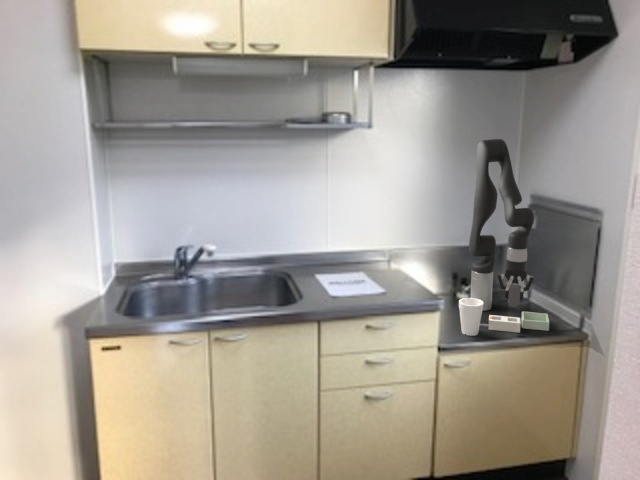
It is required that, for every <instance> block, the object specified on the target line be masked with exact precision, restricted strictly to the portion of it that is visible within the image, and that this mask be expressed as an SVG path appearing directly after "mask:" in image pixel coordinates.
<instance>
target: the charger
mask: <svg viewBox="0 0 640 480" xmlns="http://www.w3.org/2000/svg"><path fill="white" fill-rule="evenodd" d="M520 291H521V287H519V284H516V283H511V286H509V298H508V300H507V304H509V307H510V308H517V306H520V304H521V301H520Z"/></svg>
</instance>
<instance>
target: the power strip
mask: <svg viewBox="0 0 640 480" xmlns="http://www.w3.org/2000/svg"><path fill="white" fill-rule="evenodd" d="M521 325H522V322H521V317H517V316H506V315H504V316H503V315H496V314H495V315H494V314H493V315H492V314H489V316H488V324H487V323H486V324H485V323H480V326H479V327H483V328H487V329H488V330H490V331H498V332H500V331H501V332H508V333H517V334H519V333H521Z"/></svg>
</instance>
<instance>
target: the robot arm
mask: <svg viewBox="0 0 640 480" xmlns="http://www.w3.org/2000/svg"><path fill="white" fill-rule="evenodd" d="M497 162H498V164H499V166H500V175H499V179H498V184H497V187H498V190H497V188H496V186H495V184H494V182H493V181H492V179H491V176H490V174H489V172H490V171H489V167H490V163H497ZM513 171H514V170H513V166H512V160H511V156H510V151H509V148H508V145H507V142H506V141H505V140H503V139H501V138H492V139H483V140H481V141H479V143H478V144H477V148H476V180H475V189H474V199H473V200H474V201H473V213H472V214H473V215H472V223H471V230H470V235H469V242H468V251H469V254H470V256H471V257H483V258H481V259H480V260H476V261H475V262H473V263H472V265H471V274H470V276H471V277H470V279H471V280H470V297H469V298H475V299H479V300H482V301H483V310H482V312H483V311H489V310H491V309H492V301H493V283H494V282H493V281H494V267H495V260H496V249H497V240H496V238H495V236H494V235H492V234H483V235H482V234H481V233H482V230H483V228H484V226H485V224H486V223H487V222H488V221H489V219H490V218H491V217H492V216H493V214H494V213H495V211H496V208H497V202H498V192H499V194H500V195H499V196H500V197H501V200H502V202H503V212H504V220H505V223H506V224H507V225H508V226H509V227H511V228H517V229H516V230H514V231H512V232H510V233H509V234H508V239H507V240H508V241H507V242H508V243H507V251H506V259H505V260H506V261H505V271H504V272H503V273H499V272H498V273H497V279H498V283H499V287H500V289H501V290H504V297H505V299H506V300H507V301H508V298H509V286H511V283H516V284H519V287H521V291H520V302H521V301H522V300H524V294H525V292H528V291H530V288H531V286H532V284H533V281H534V276H533V275H529V274H527V265H528V263H527V262H528V242H529V241H528V240H529V239H528V238H529V236H530V232H531V231H532V227H533V225H534V221H535V214H534V212H533V210H532V208H529V207H519V208H516V206H518V205H519V204H521V203H522V201H523V197H522V195H521V192H520V190H519V189H520V188H519V187H518V184H517V182H516V180H515V174H514V172H513ZM504 278H506V285H504V281H503V279H504ZM524 280H527V283H526V285H525V286H524V285H523V284H524V283H523V282H524Z"/></svg>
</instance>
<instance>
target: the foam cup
mask: <svg viewBox="0 0 640 480" xmlns="http://www.w3.org/2000/svg"><path fill="white" fill-rule="evenodd" d="M458 308H459V318H460V327H461V333H462V335H465V334H466V335H465V336H469V337H470V336H473V337H474V336H477V335H479V331H480V327H481V326H480V324H481V320H482V315H483V311H482V310H483V301H482V300H479V299H475V298H470V297H463V298H461V299H459V300H458Z"/></svg>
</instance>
